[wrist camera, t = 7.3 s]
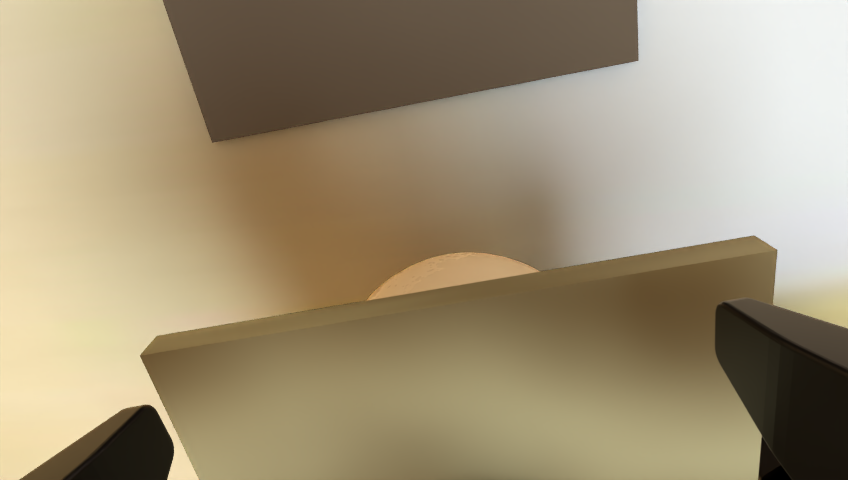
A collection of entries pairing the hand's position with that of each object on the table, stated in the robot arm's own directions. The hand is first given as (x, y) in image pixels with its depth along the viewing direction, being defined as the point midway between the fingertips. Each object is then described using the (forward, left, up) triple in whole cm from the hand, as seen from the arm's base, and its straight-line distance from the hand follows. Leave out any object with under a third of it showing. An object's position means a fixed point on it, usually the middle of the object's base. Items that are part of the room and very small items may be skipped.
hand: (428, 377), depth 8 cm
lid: (-6, +4, -4) cm, 8 cm away
